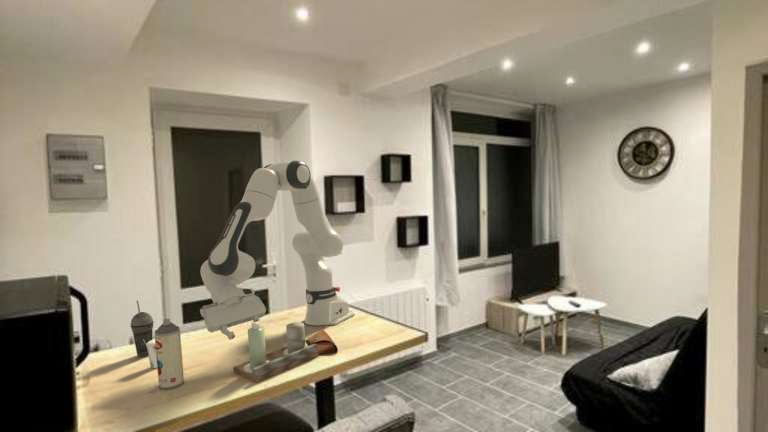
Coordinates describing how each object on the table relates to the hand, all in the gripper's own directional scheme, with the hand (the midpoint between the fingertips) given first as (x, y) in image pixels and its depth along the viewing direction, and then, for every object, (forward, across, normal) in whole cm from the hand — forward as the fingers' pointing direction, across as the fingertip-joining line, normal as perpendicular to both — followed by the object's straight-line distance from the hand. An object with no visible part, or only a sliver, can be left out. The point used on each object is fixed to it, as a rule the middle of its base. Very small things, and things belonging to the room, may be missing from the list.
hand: (245, 333), depth 138 cm
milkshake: (-10, -19, +26) cm, 34 cm away
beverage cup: (-20, -17, +36) cm, 44 cm away
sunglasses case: (+13, +26, +4) cm, 29 cm away
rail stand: (+12, +7, +3) cm, 14 cm away
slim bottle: (+11, 0, +2) cm, 11 cm away
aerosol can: (+2, -21, +13) cm, 25 cm away
